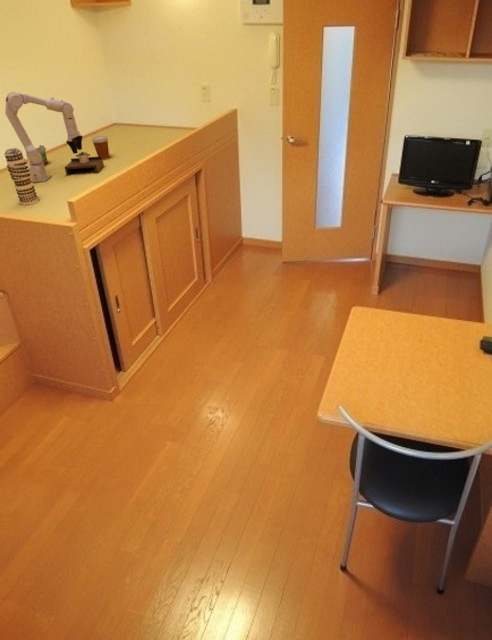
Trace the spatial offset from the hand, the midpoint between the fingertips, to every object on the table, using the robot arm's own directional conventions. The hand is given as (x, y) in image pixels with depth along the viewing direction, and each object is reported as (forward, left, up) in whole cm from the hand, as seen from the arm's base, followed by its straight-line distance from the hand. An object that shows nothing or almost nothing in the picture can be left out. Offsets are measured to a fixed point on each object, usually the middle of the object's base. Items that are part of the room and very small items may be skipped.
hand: (77, 151), depth 273 cm
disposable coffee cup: (+22, -7, -11) cm, 25 cm away
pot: (0, -3, -6) cm, 6 cm away
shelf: (-2, -3, -10) cm, 11 cm away
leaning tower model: (-49, +11, -11) cm, 51 cm away
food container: (+17, +29, -11) cm, 36 cm away
